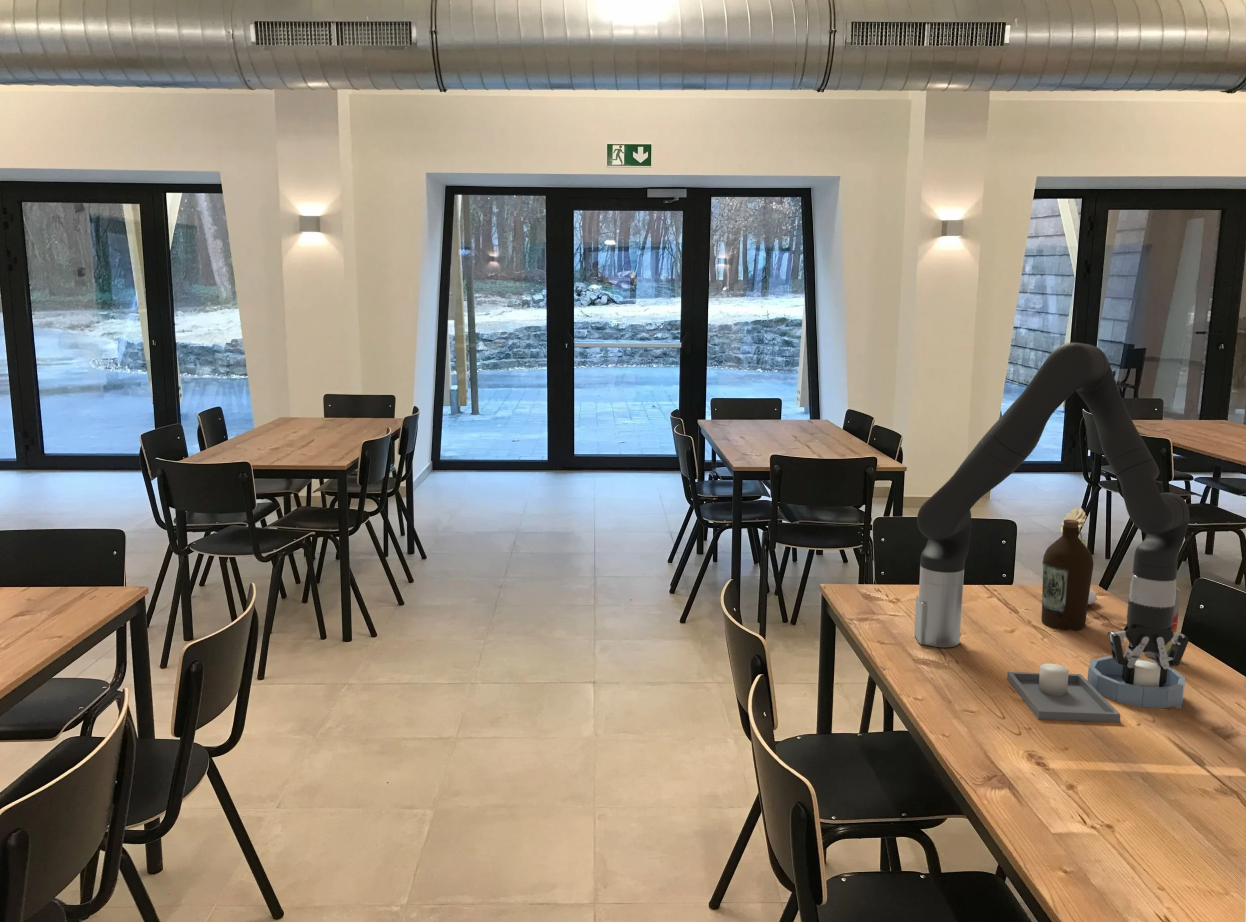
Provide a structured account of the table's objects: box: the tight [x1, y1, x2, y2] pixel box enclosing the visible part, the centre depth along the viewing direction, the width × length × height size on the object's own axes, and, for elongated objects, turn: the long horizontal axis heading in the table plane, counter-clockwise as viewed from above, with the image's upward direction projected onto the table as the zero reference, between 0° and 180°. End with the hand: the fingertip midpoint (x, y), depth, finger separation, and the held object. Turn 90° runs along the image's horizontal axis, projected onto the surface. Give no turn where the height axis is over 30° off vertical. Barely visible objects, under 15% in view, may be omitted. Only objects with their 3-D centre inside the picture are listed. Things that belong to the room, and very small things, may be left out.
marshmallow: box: [1038, 663, 1070, 696], centre depth 177 cm, size 5×5×4 cm
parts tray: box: [1006, 671, 1121, 724], centre depth 173 cm, size 14×18×2 cm
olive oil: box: [1040, 519, 1094, 631], centre depth 215 cm, size 11×11×25 cm
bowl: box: [1086, 655, 1186, 710], centre depth 177 cm, size 16×16×4 cm
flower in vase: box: [1060, 507, 1098, 605], centre depth 230 cm, size 13×11×25 cm
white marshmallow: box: [1133, 660, 1161, 687], centre depth 174 cm, size 5×5×4 cm
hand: (1143, 684), depth 174 cm, fingers closed on white marshmallow, 4 cm apart
